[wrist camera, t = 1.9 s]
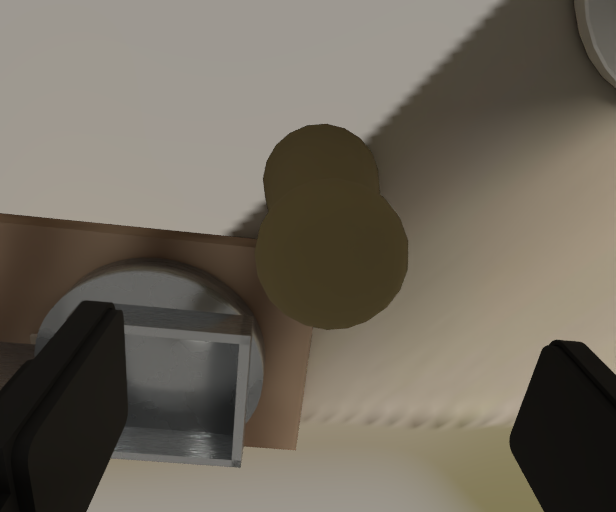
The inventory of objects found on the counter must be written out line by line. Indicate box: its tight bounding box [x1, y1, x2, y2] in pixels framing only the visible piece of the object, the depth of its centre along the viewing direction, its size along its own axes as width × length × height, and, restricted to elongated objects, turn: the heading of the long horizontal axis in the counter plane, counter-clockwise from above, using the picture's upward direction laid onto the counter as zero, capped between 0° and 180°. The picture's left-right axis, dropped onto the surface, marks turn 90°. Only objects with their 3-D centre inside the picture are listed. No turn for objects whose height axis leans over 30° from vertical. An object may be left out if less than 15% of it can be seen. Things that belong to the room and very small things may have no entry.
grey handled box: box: [0, 258, 265, 468], centre depth 24 cm, size 16×12×5 cm
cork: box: [254, 124, 408, 330], centre depth 19 cm, size 6×6×11 cm
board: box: [0, 213, 313, 450], centre depth 28 cm, size 19×14×1 cm
